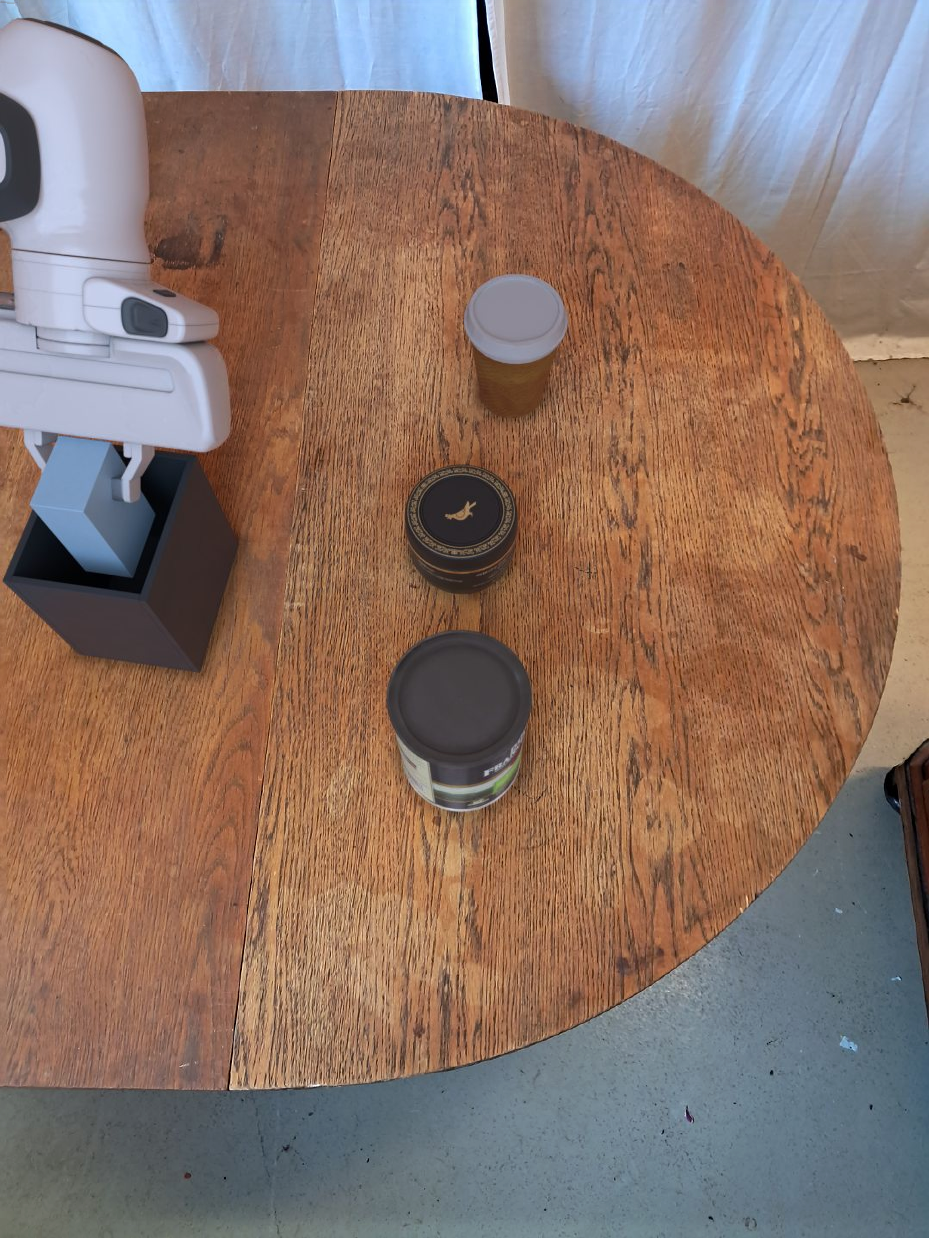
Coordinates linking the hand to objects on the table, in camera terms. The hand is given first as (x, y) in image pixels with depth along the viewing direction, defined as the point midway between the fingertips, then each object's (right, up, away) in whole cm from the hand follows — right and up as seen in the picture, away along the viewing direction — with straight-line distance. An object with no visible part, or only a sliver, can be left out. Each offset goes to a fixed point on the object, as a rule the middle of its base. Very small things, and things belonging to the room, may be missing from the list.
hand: (92, 496), depth 67 cm
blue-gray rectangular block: (0, -3, +6) cm, 6 cm away
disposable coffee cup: (+33, +14, +25) cm, 43 cm away
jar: (+28, -3, +17) cm, 33 cm away
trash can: (0, -7, +15) cm, 17 cm away
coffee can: (+28, -21, +9) cm, 36 cm away
